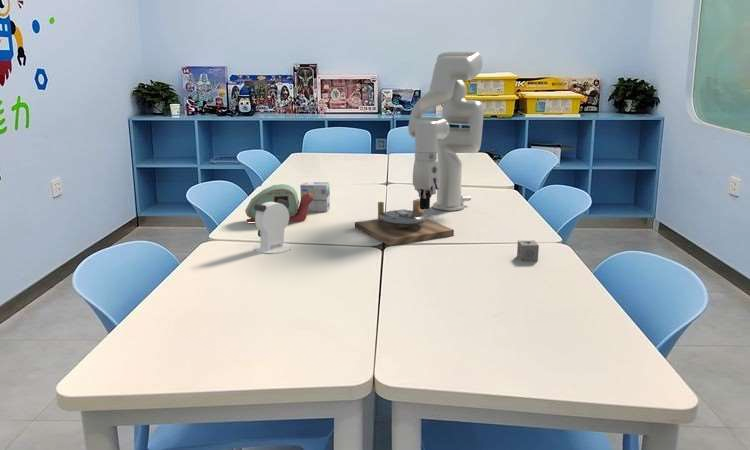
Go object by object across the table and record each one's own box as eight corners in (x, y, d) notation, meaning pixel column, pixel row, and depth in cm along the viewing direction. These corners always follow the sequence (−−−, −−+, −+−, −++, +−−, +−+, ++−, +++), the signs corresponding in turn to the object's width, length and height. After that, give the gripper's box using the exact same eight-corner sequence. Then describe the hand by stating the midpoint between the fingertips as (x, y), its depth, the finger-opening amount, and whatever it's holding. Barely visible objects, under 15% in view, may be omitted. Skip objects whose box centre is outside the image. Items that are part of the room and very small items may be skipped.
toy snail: (244, 225, 234) (242, 187, 230) (246, 219, 241) (244, 183, 237) (314, 222, 236) (313, 185, 233) (313, 217, 244) (312, 181, 240)
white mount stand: (275, 240, 214) (273, 196, 210) (299, 247, 207) (298, 201, 203) (247, 249, 205) (244, 203, 201) (271, 256, 198) (269, 208, 194)
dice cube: (533, 256, 198) (534, 240, 196) (537, 261, 193) (538, 245, 192) (516, 256, 197) (517, 240, 196) (521, 261, 193) (522, 245, 191)
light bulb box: (330, 208, 258) (330, 181, 255) (327, 212, 252) (327, 184, 249) (304, 207, 259) (303, 181, 256) (300, 211, 253) (299, 184, 250)
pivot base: (415, 219, 241) (415, 195, 238) (453, 235, 219) (454, 209, 217) (354, 227, 229) (354, 203, 227) (389, 245, 208) (389, 218, 206)
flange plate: (408, 227, 212) (408, 212, 211) (370, 220, 222) (370, 205, 221) (439, 216, 226) (439, 202, 225) (402, 209, 236) (402, 196, 235)
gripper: (448, 158, 218) (446, 211, 223) (421, 153, 230) (420, 203, 235) (430, 160, 214) (429, 214, 219) (404, 154, 226) (403, 206, 231)
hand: (424, 208), depth 227 cm, fingers closed
